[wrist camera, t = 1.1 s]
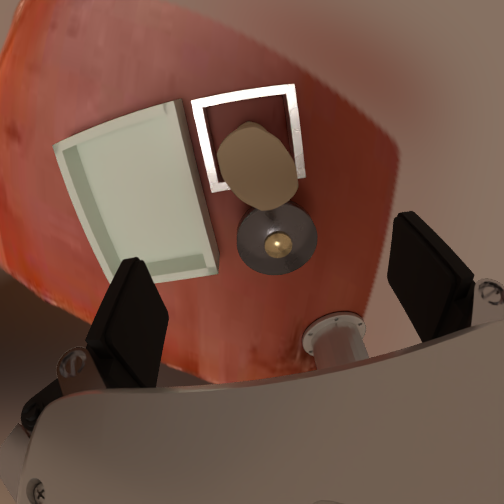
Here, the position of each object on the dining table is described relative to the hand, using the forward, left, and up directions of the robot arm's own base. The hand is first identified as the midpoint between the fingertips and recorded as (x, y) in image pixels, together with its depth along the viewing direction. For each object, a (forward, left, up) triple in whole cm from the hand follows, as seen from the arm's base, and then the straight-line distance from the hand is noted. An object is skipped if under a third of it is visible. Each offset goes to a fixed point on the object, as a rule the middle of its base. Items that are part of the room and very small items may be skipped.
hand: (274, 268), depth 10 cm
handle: (0, 0, -26) cm, 27 cm away
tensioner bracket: (-5, 0, -26) cm, 27 cm away
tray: (-5, +15, -26) cm, 31 cm away
